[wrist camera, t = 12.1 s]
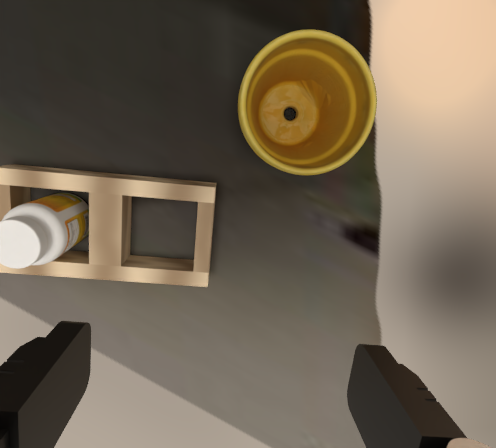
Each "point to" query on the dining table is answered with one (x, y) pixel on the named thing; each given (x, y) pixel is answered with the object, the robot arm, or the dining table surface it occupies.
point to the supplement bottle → (42, 230)
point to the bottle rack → (114, 224)
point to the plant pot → (307, 102)
